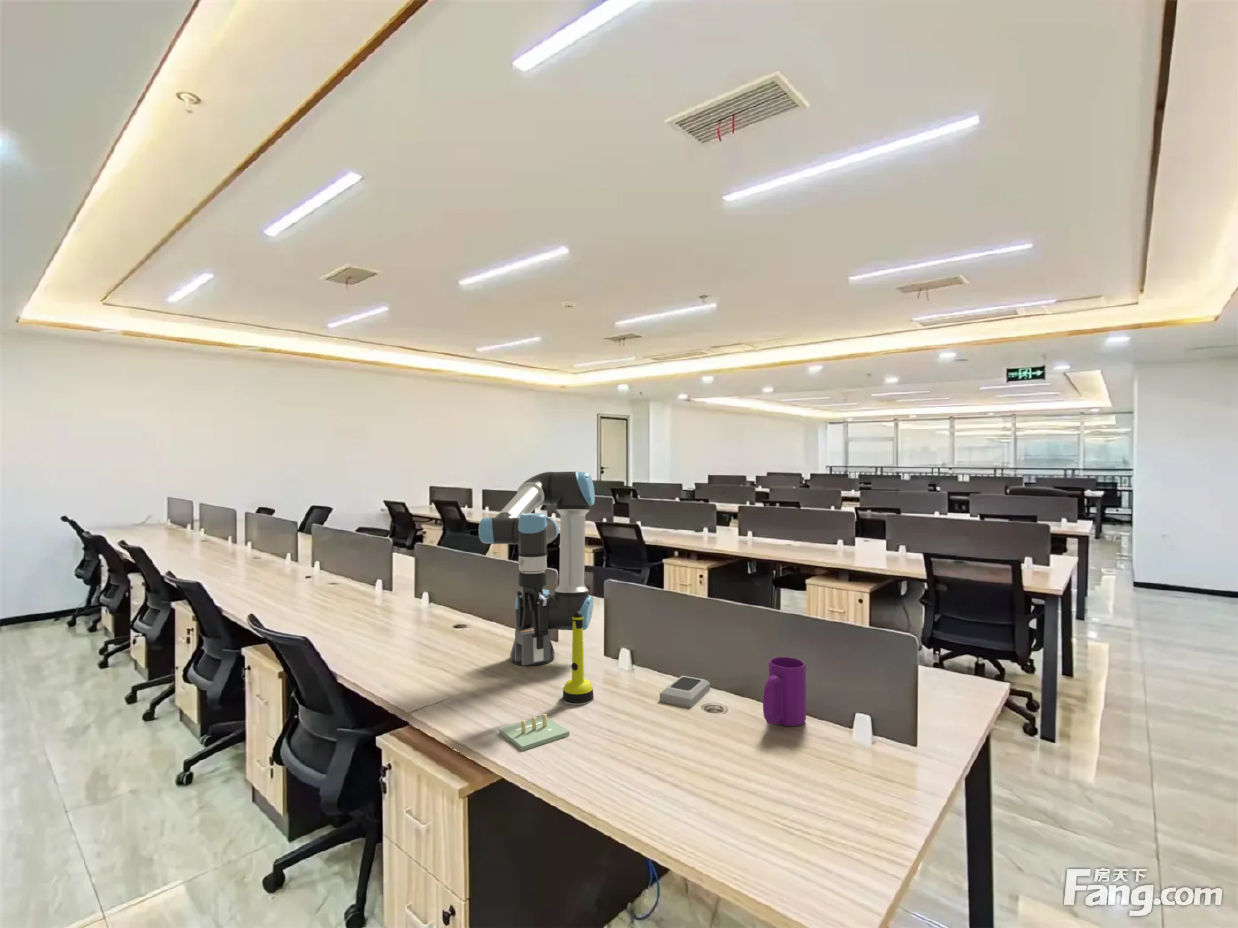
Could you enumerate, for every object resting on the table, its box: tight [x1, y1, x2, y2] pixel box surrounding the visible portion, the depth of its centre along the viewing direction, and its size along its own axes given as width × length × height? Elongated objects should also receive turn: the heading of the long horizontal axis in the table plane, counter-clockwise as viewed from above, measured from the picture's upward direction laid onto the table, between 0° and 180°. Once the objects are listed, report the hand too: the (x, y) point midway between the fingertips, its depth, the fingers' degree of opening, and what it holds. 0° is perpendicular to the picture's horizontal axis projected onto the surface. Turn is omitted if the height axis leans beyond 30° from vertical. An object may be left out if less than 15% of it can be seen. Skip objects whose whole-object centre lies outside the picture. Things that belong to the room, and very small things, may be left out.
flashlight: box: [561, 611, 595, 706], centre depth 169 cm, size 25×9×9 cm
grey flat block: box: [659, 675, 711, 709], centre depth 171 cm, size 10×4×15 cm
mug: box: [762, 656, 807, 727], centre depth 152 cm, size 9×16×15 cm, turn 136°
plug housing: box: [514, 628, 551, 666], centre depth 159 cm, size 8×5×8 cm, turn 125°
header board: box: [499, 713, 570, 752], centre depth 147 cm, size 13×12×4 cm
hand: (532, 657), depth 159 cm, fingers closed on plug housing, 5 cm apart
